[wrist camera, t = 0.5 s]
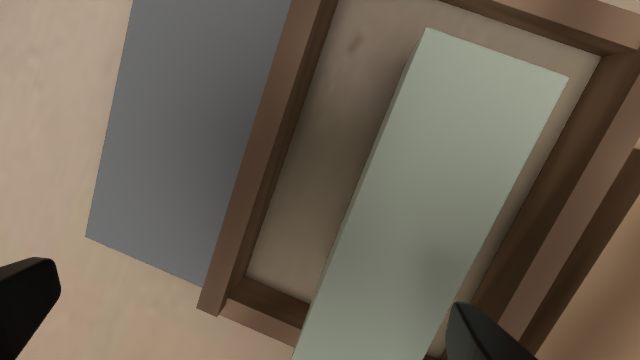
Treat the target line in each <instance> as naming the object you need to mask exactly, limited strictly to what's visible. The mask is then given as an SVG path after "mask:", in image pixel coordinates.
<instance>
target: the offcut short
mask: <svg viewBox="0 0 640 360" xmlns="http://www.w3.org/2000/svg"><path fill="white" fill-rule="evenodd" d="M518 342H519V343H520V344H521V345H522V346H523V347H525V348H526V349H527V350H528V351H529V352H530V353H532V354H533V355H534V356H535V357H536V358H537V359H538V360H640V149H636V148H633V150H632V151H631V153H630V155H629V156H628V158H627V160H626V161H625V163H624V165H623V166H622V168H621V170H620V171H619V173H618V175H617V176H616V178H615V180H614V181H613V183H612V185H611V186H610V188H609V190H608V192H607V193H606V195H605V197H604V198H603V200H602V202H601V203H600V205H599V207H598V208H597V210H596V212H595V213H594V215H593V217H592V218H591V220H590V222H589V223H588V225H587V227H586V228H585V230H584V232H583V234H582V235H581V237H580V239H579V240H578V242H577V244H576V245H575V247H574V249H573V250H572V252H571V254H570V255H569V257H568V259H567V260H566V262H565V264H564V265H563V267H562V269H561V270H560V272H559V274H558V275H557V277H556V279H555V281H554V282H553V284H552V286H551V287H550V289H549V291H548V292H547V294H546V296H545V297H544V299H543V301H542V302H541V304H540V306H539V307H538V309H537V311H536V312H535V314H534V316H533V317H532V319H531V321H530V322H529V324H528V326H527V328H526V329H525V331H524V333H523V334H522V336H521V338H520V339H519V341H518Z"/></svg>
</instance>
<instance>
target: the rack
mask: <svg viewBox="0 0 640 360" xmlns="http://www.w3.org/2000/svg"><path fill="white" fill-rule="evenodd" d="M440 1H443V2H446V3H449V4H452V5H455V6H457V7H460V8H463V9H466V10H469V11H472V12H475V13H478V14H481V15H483V16H486V17H489V18H492V19H495V20H498V21H501V22H504V23H507V24H509V25H512V26H515V27H518V28H521V29H524V30H527V31H530V32H532V33H535V34H538V35H541V36H544V37H547V38H550V39H553V40H556V41H558V42H561V43H564V44H567V45H570V46H573V47H576V48H579V49H582V50H584V51H587V52H590V53H593V54H596V55H599V56H602V59H601V60H600V62H599V64H598V66H597V68H596V70H595V72H594V73H593V75H592V77H591V79H590V81H589V83H588V85H587V86H586V88H585V90H584V92H583V94H582V96H581V98H580V100H579V101H578V103H577V105H576V107H575V109H574V111H573V113H572V114H571V116H570V118H569V120H568V122H567V124H566V126H565V127H564V129H563V131H562V133H561V135H560V137H559V139H558V141H557V142H556V144H555V146H554V148H553V150H552V152H551V154H550V155H549V157H548V159H547V161H546V163H545V165H544V167H543V168H542V170H541V172H540V174H539V176H538V178H537V180H536V182H535V183H534V185H533V187H532V189H531V191H530V193H529V195H528V196H527V198H526V200H525V202H524V204H523V206H522V208H521V209H520V211H519V213H518V215H517V217H516V219H515V221H514V223H513V224H512V226H511V228H510V230H509V232H508V234H507V236H506V237H505V239H504V241H503V243H502V245H501V247H500V249H499V250H498V252H497V254H496V256H495V258H494V260H493V262H492V264H491V265H490V267H489V269H488V271H487V273H486V275H485V277H484V278H483V280H482V282H481V284H480V286H479V288H478V290H477V291H476V293H475V295H474V297H473V299H472V301H471V303H473V304H475V305H476V306H478V307H479V308H480V309H481V310H482V311H483V312H484V313H486V314H487V315H488V316H489V317H490V318H491V319H492V320H494V321H495V322H496V323H497V324H498V325H499V326H501V327H502V328H503V329H504V330H505V331H506V332H507V333H509V334H510V335H511V336H512V337H513V338H514V339H515V340H517V341H519V339H520V338H521V336H522V334H523V333H524V331H525V329H526V328H527V326H528V324H529V322H530V321H531V319H532V317H533V316H534V314H535V312H536V311H537V309H538V307H539V306H540V304H541V302H542V301H543V299H544V297H545V296H546V294H547V292H548V291H549V289H550V287H551V286H552V284H553V282H554V281H555V279H556V277H557V275H558V274H559V272H560V270H561V269H562V267H563V265H564V264H565V262H566V260H567V259H568V257H569V255H570V254H571V252H572V250H573V249H574V247H575V245H576V244H577V242H578V240H579V239H580V237H581V235H582V234H583V232H584V230H585V228H586V227H587V225H588V223H589V222H590V220H591V218H592V217H593V215H594V213H595V212H596V210H597V208H598V207H599V205H600V203H601V202H602V200H603V198H604V197H605V195H606V193H607V192H608V190H609V188H610V186H611V185H612V183H613V181H614V180H615V178H616V176H617V175H618V173H619V171H620V170H621V168H622V166H623V165H624V163H625V161H626V160H627V158H628V156H629V155H630V153H631V151H632V150H633V148H634V146H635V145H636V143H637V141H638V139H639V138H640V15H639V14H637V13H634V12H631V11H628V10H625V9H622V8H619V7H616V6H613V5H610V4H607V3H604V2H601V1H598V0H440ZM337 2H338V0H291V4H290V7H289V10H288V13H287V16H286V20H285V23H284V26H283V29H282V33H281V36H280V39H279V42H278V46H277V49H276V52H275V55H274V58H273V62H272V65H271V68H270V71H269V75H268V78H267V81H266V84H265V88H264V91H263V94H262V97H261V100H260V104H259V107H258V110H257V113H256V117H255V120H254V123H253V126H252V130H251V133H250V136H249V139H248V143H247V146H246V149H245V152H244V155H243V159H242V162H241V165H240V168H239V172H238V175H237V178H236V181H235V185H234V188H233V191H232V194H231V197H230V201H229V204H228V207H227V210H226V214H225V217H224V220H223V223H222V227H221V230H220V233H219V236H218V240H217V243H216V246H215V249H214V252H213V256H212V259H211V262H210V265H209V269H208V272H207V275H206V278H205V282H204V285H203V288H202V291H201V294H200V298H199V301H198V304H197V307H196V308H197V309H200V310H202V311H204V312H207V313H209V314H211V315H213V316H216V317H217V316H218V315H221V316H224V317H226V318H228V319H230V320H233V321H235V322H237V323H240V324H242V325H244V326H246V327H249V328H251V329H253V330H256V331H258V332H260V333H262V334H265V335H267V336H269V337H272V338H274V339H276V340H278V341H281V342H283V343H285V344H287V345H290V346H292V347H294V348H295V346H296V344H297V341H298V338H299V335H300V332H301V330H302V327H303V324H304V321H305V319H306V316H307V313H308V310H309V308H310V305H309V304H306V303H304V302H302V301H299V300H297V299H294V298H292V297H290V296H287V295H285V294H283V293H280V292H278V291H276V290H273V289H271V288H269V287H266V286H264V285H262V284H259V283H257V282H255V281H252V280H250V279H248V278H245V277H244V276H245V273H246V270H247V267H248V264H249V261H250V258H251V255H252V252H253V249H254V246H255V243H256V240H257V237H258V235H259V232H260V229H261V226H262V223H263V220H264V217H265V214H266V211H267V208H268V205H269V202H270V199H271V196H272V193H273V190H274V188H275V185H276V182H277V179H278V176H279V173H280V170H281V167H282V164H283V161H284V158H285V155H286V152H287V149H288V146H289V143H290V141H291V138H292V135H293V132H294V129H295V126H296V123H297V120H298V117H299V114H300V111H301V108H302V105H303V102H304V99H305V96H306V94H307V91H308V88H309V85H310V82H311V79H312V76H313V73H314V70H315V67H316V64H317V61H318V58H319V55H320V52H321V49H322V47H323V44H324V41H325V38H326V35H327V32H328V29H329V26H330V23H331V20H332V17H333V14H334V11H335V8H336V5H337ZM423 360H437V359H435V358H433V357H430V356H428V355H426V354H425V356H424V358H423ZM440 360H448V354H447V347H446V349H445V351H444V353H443V355H442V357H441V359H440Z"/></svg>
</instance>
